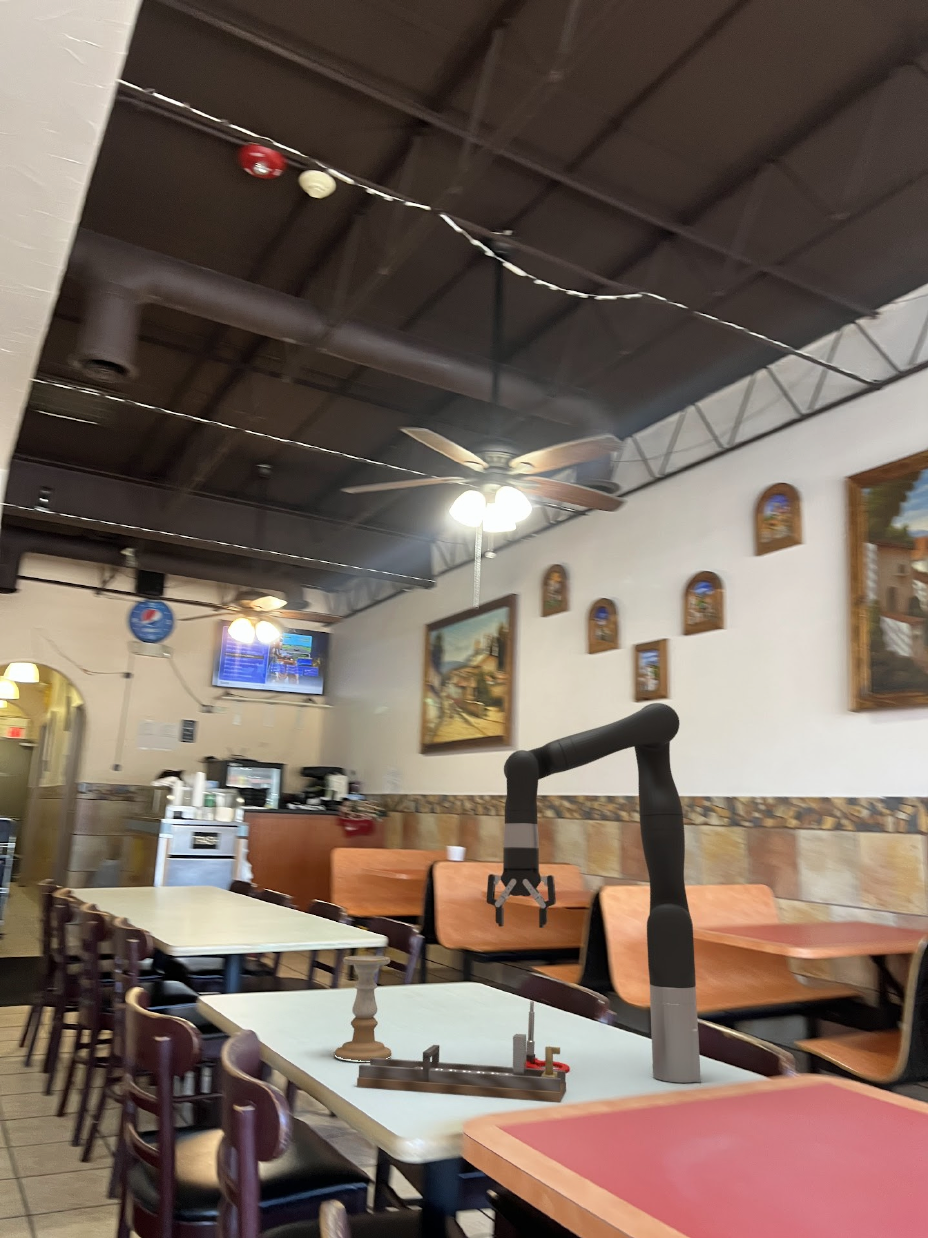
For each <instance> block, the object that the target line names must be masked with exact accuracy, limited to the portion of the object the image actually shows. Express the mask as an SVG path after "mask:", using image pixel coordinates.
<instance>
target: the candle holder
mask: <svg viewBox="0 0 928 1238" xmlns="http://www.w3.org/2000/svg"><path fill="white" fill-rule="evenodd" d="M390 962H391V958H390V957H388V956H383V955H380V956H379V955H351V956H345V957H343V964H346V965H349V966H353V967H354V970H355V972H356V974H357V976H358V979H357V981H356V983H354V985H353V986H354V988H355V990H356V996H355V999H354V1002H353V1006H352V1014H353V1015H354V1018H352V1020H351V1021H350V1025H351V1026H352V1028H353V1033H352V1039H351V1040H349V1041H346V1042H344V1043H342V1046H339V1047H337V1048H336V1049H335V1050H334V1053H335V1055H336V1056H337V1057H341V1058H343V1059H351V1060H358V1061H360V1060H361V1061H370V1059H371V1058H384V1059H386V1058H388V1057H390V1056H391V1057H392V1050H391V1048H389V1047H387V1046H385V1043H383V1042H381V1041H377V1040H376V1039H375V1038H376V1037H375V1028H377V1026H378V1024H379V1023H378V1020H377V1019H376V1018H375V1016H376V1015H377V1014H378V1006H377V1001H376V994H375V989H377V988H378V985H377V983H376V982H375V979H374V978H375V974H376V973H377V972H378V971H379V968H380V967H381V966H384V965H385V966H386V965H388V964H390ZM391 1057H390V1058H391Z"/></svg>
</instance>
